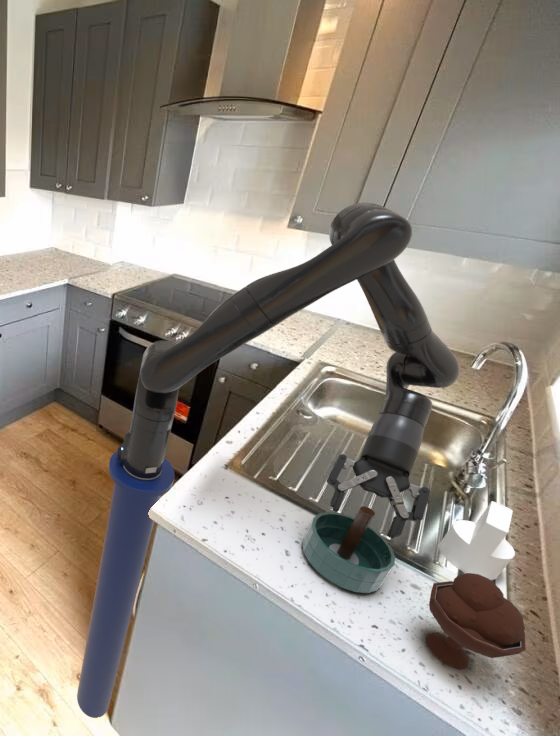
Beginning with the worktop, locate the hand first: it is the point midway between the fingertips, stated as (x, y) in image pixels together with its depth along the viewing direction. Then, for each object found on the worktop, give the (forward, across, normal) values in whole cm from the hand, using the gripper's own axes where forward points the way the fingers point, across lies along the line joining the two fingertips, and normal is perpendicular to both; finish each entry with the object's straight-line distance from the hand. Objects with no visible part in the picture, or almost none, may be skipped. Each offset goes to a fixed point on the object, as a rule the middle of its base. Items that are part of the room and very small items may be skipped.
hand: (362, 523), depth 77 cm
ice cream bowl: (+12, +16, +4) cm, 21 cm away
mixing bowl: (+7, 0, +9) cm, 12 cm away
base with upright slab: (-6, +20, +22) cm, 31 cm away
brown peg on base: (+7, 0, +8) cm, 11 cm away
